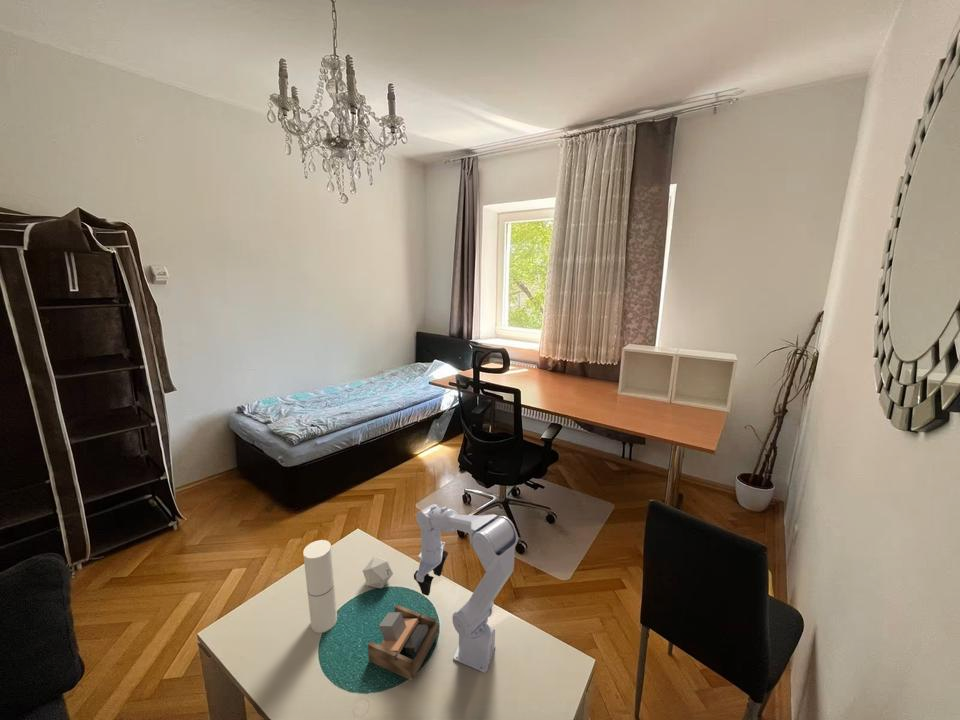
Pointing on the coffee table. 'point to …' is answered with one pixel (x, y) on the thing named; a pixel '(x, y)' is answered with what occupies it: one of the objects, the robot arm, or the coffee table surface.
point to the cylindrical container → (320, 585)
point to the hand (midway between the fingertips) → (431, 583)
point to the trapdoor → (414, 640)
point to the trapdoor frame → (398, 661)
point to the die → (377, 572)
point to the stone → (392, 626)
